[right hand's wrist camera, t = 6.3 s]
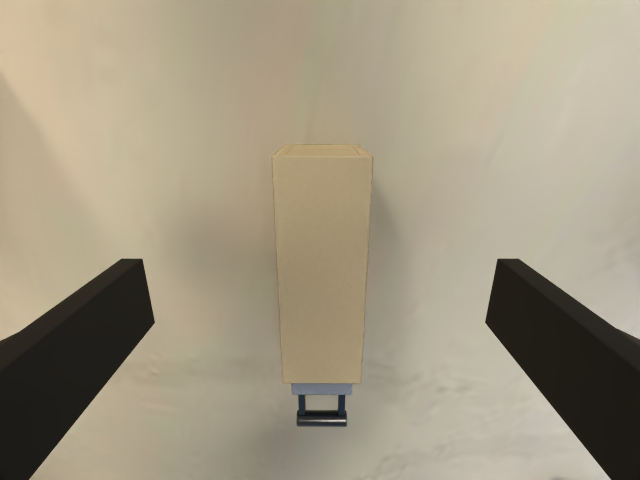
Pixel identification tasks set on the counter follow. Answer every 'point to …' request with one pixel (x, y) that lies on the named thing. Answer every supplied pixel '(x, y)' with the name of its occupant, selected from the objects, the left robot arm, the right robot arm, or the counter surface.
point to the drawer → (321, 416)
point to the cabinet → (322, 259)
